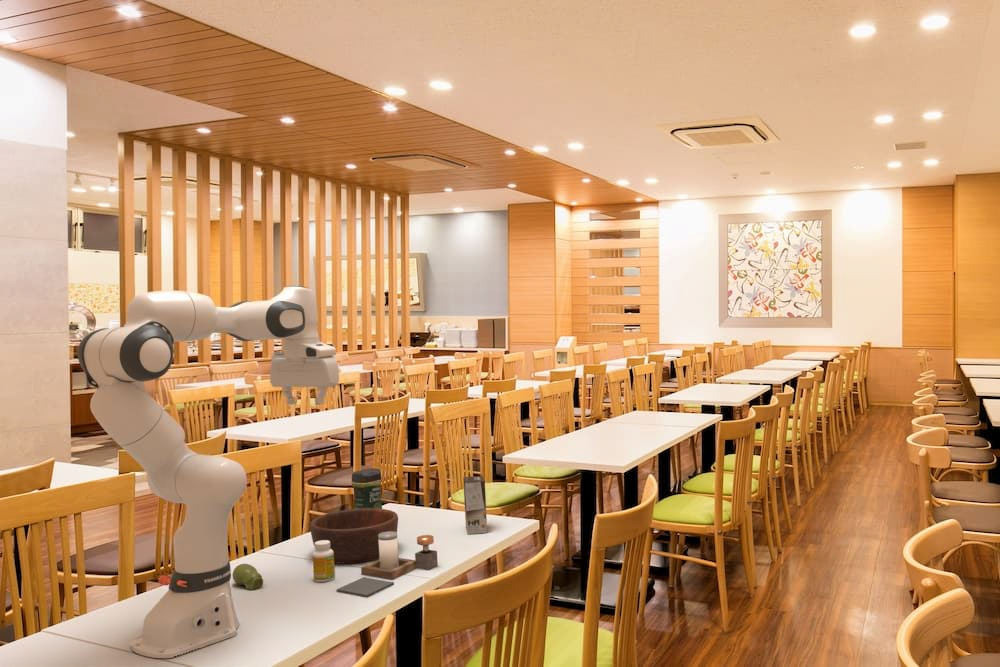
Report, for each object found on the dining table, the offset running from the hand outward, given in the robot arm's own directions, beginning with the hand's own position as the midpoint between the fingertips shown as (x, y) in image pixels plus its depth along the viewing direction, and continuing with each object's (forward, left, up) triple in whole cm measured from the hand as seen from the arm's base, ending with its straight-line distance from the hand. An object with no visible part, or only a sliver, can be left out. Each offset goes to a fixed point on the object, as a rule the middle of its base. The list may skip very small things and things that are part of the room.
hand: (305, 404), depth 205 cm
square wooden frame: (+19, -13, -46) cm, 51 cm away
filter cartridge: (+17, -11, -46) cm, 50 cm away
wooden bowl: (+26, +9, -47) cm, 54 cm away
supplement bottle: (+5, +1, -47) cm, 47 cm away
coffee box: (+60, -10, -47) cm, 76 cm away
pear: (-7, +16, -47) cm, 50 cm away
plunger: (+24, -18, -43) cm, 52 cm away
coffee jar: (+51, +26, -47) cm, 74 cm away
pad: (+4, -14, -46) cm, 48 cm away
